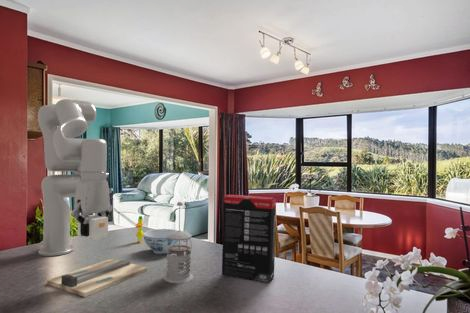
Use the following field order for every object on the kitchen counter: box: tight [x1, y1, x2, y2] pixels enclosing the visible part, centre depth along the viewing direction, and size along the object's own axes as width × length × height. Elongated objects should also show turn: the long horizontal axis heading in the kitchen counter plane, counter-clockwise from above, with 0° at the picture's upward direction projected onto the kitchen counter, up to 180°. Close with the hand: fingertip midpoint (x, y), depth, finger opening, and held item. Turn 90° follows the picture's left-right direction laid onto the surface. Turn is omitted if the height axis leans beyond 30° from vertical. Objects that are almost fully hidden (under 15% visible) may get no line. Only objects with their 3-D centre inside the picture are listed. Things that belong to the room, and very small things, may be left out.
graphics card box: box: [221, 194, 277, 284], centre depth 106 cm, size 17×7×27 cm, turn 71°
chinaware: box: [143, 228, 179, 255], centre depth 133 cm, size 15×15×8 cm
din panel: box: [46, 258, 148, 298], centre depth 104 cm, size 18×24×4 cm
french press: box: [163, 201, 194, 284], centre depth 106 cm, size 10×12×25 cm
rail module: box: [77, 214, 109, 240], centre depth 101 cm, size 9×5×6 cm, turn 61°
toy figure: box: [135, 215, 145, 244], centre depth 146 cm, size 7×4×12 cm, turn 174°
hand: (92, 233), depth 101 cm, fingers closed on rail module, 5 cm apart
